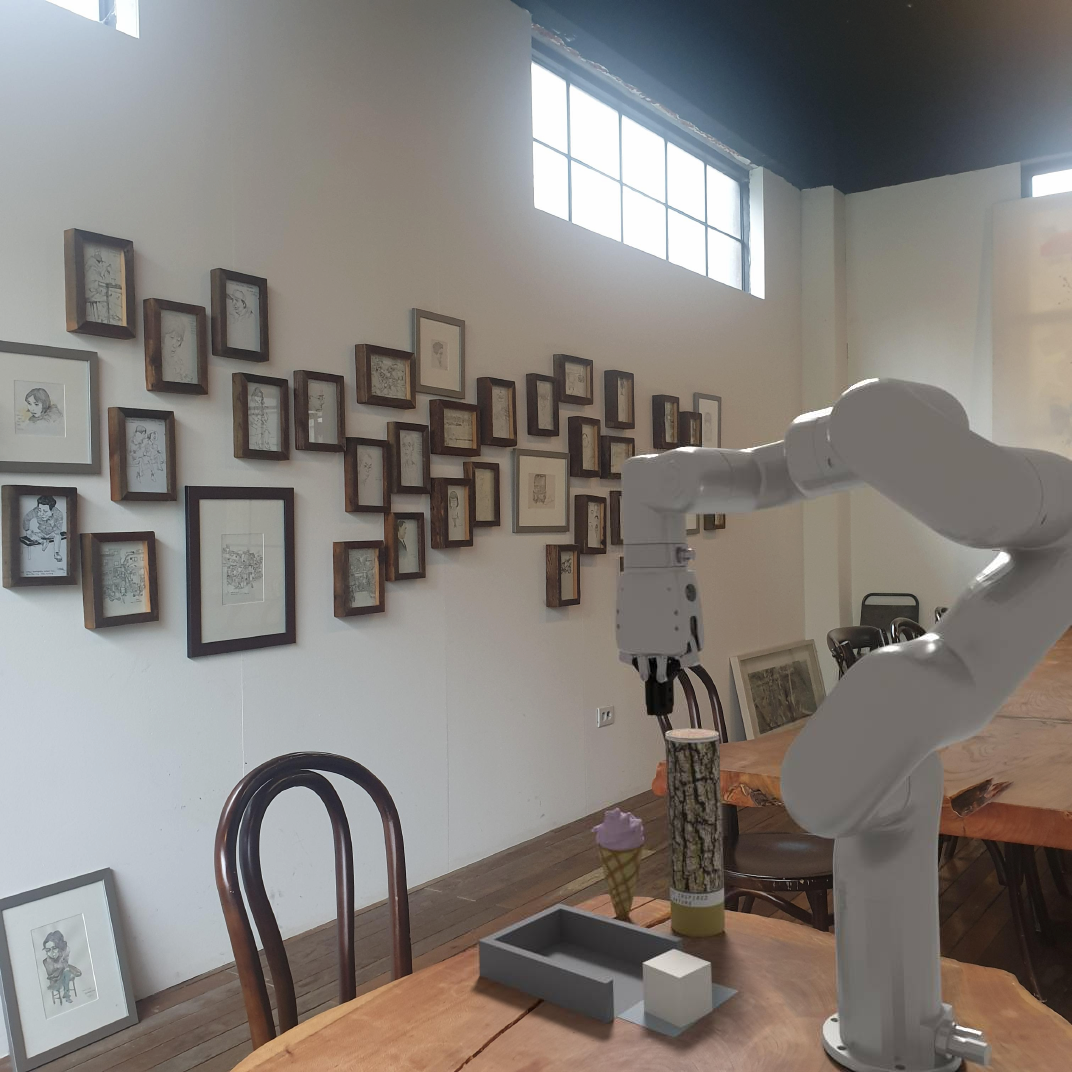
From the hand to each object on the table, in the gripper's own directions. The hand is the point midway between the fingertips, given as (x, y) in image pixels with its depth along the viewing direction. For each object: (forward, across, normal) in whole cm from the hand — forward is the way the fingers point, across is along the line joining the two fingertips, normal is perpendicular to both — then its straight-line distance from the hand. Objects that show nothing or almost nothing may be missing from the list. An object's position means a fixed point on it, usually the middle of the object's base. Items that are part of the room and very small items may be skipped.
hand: (660, 713), depth 115 cm
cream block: (+29, -8, +11) cm, 32 cm away
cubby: (+29, +2, +10) cm, 31 cm away
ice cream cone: (+29, +12, -7) cm, 32 cm away
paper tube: (+29, +2, -10) cm, 31 cm away
